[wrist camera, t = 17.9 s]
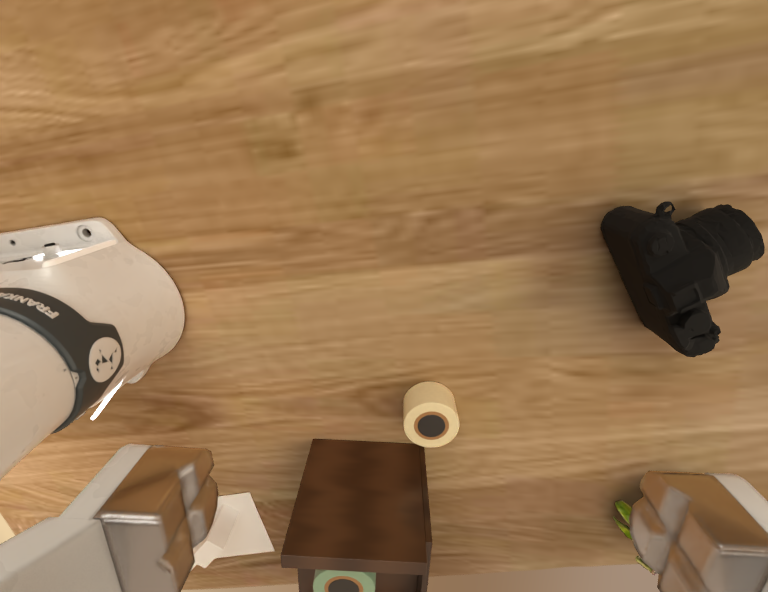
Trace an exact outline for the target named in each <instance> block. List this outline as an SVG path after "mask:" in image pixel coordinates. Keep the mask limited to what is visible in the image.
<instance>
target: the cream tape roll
mask: <svg viewBox="0 0 768 592" xmlns="http://www.w3.org/2000/svg"><path fill="white" fill-rule="evenodd" d="M403 421H404V431H405V433H406V435H407V437H408V438H409V439H410V440H411V441H412V442H413V443H415V444H417V445H419V446H422V447H428V448H434V447H440V446H443V445H445V444H447V443H449V442H450V441H451V440H453V439H454V437H455V436H456V435H457V433H458V430H459V418H458V414H457V409H456V404H455V400H454V396H453V394H452V392H451V391H450V390H449V389H448V388H447V387H446V386H444V385H442V384H440V383H437V382H422V383H419V384H416V385H414V386H413V387H411V388H410V389H409V390H408V391H407V393H406V394H405V397H404V400H403Z"/></svg>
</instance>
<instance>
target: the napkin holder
mask: <svg viewBox="0 0 768 592" xmlns="http://www.w3.org/2000/svg"><path fill="white" fill-rule="evenodd" d="M271 551H275V550H274V548H273V546H272V543H271V541H270V539H269V536H268V534H267V532H266V529H265V527H264V525H263V522H262V520H261V518H260V516H259V513H258V511H257V509H256V506H255V504H254V502H253V499H252V497H251V495H250V492H248V493H240V494H233V495H226V496H219V497H218V505H217V510H216V514H215V517H214V521H213V524H212V526H211V529H210V531H209V533H208V535H207V537H206V538H205V539H204V540H203V541H202V542H200V543H199V544H198V545H197V546H195V547H194V548H193V553H194V558H195V563H194V565H193V567H192V569H193V568H194V567H195V566H196V565H199V566H201V567H203V568H206V567H207V566H208V565H209V564H210V563H211V562H212V561H213V560H214V559H215V558H222V557H230V556H238V555H246V554H255V553H263V552H271ZM192 569H191V570H192Z"/></svg>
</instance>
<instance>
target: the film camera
mask: <svg viewBox="0 0 768 592" xmlns="http://www.w3.org/2000/svg"><path fill="white" fill-rule="evenodd" d="M669 205H671V206H672V210H671V211H668V212H664V210H665V209H666V208H667V207H668V206H669ZM674 210H675V208H674V206H673V204H672V203H671V202H663V203H661V204H660V205H659V206H658V207H657V209H656V213H655V214H653V213H650V212H646V211H642V210H639V209H636V208H634V207H632V206H620V207H617V208H615V209H614V210H612V211H610V212H608V213H607V214H606V216H605V217H604V219H603V221H602V224H601V230H602V233H603V236H604V239H605V241H606V243H607V244H608V247H609V250H610V252H611V254H612V257H613V259H614V262H615V264H616V266H617V268H618V270H619V273H620V275H621V278H622V280H623V282H624V284H625V287H626V289H627V291H628V294H629V296H630V298H631V300H632V302H633V304H634V306H635V308H636V311H637V313H638V314H639V316H640V318H641V320H642V322H643V324H644V326H645V327H647V328H648V329H650V330H651V331H653V332H654V333H655V334H656V335H658V336H659V337H660V338H662V339H663V340H664V341H666V342H667V343H668V344H669V345H671V346H672V347H673V348H674V349H675V350H676V351H678V352H680V353H681V354H684V355H685V356H687V357H695V356H697V355H702V354H704V353H707V352H709V351H711V350H712V349H713V348H714V347H715V344H716V343H718V342H719V339H718V338H719V336H718V334H719V333H720V332H721V331H720V328H719V326H717V325H716V324H715V323H714V322H713V321H712V318H711V315H710V313H709V310H708V306H707V303H706V301H707V300H710V299H714V298H717V297H719V296H721V295H723V294H725V293H726V292H728V289H729V283H728V280H727V276H729V275H732V274H734V273H737V272H739V271H741V270H743V269H745V268H747V267H748V266H749V265H750V264H751V262H752V261H754V260H758V259H759V258H761V257H762V255H763V254H764V243H763V239H762V235H761V233H760V232H759V230H758V229H757V227H756V226H755V223H754V222H753V221H752V220H751V219H750V218H749V217H748V216H747V215H746V214H745V213H744V212H743V211H741V210H737V209H734V208H732V206H730V205H728V204H727V205H718V206H716V207H714V208H707V209H705V210H703V211H700V212H698V213H696V214H695V215H693V216H692V217H690V218H687V219H685V220H680V221H678V222H677V223H674V221H672V219H671V215H672V213H673V212H674Z"/></svg>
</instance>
